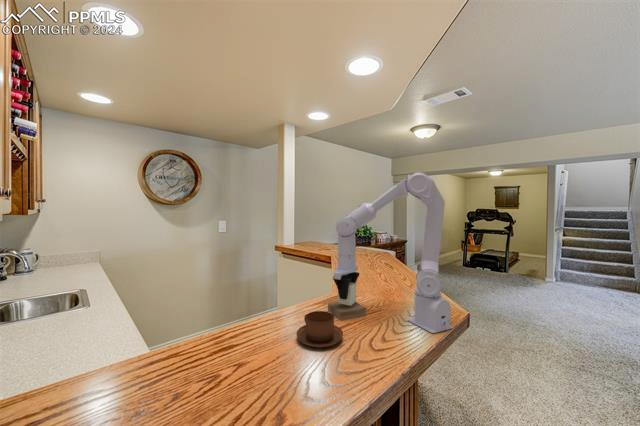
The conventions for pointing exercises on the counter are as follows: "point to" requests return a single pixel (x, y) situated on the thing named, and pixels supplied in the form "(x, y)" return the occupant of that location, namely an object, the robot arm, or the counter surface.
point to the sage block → (349, 295)
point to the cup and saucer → (319, 330)
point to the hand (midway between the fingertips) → (346, 296)
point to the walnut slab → (346, 310)
